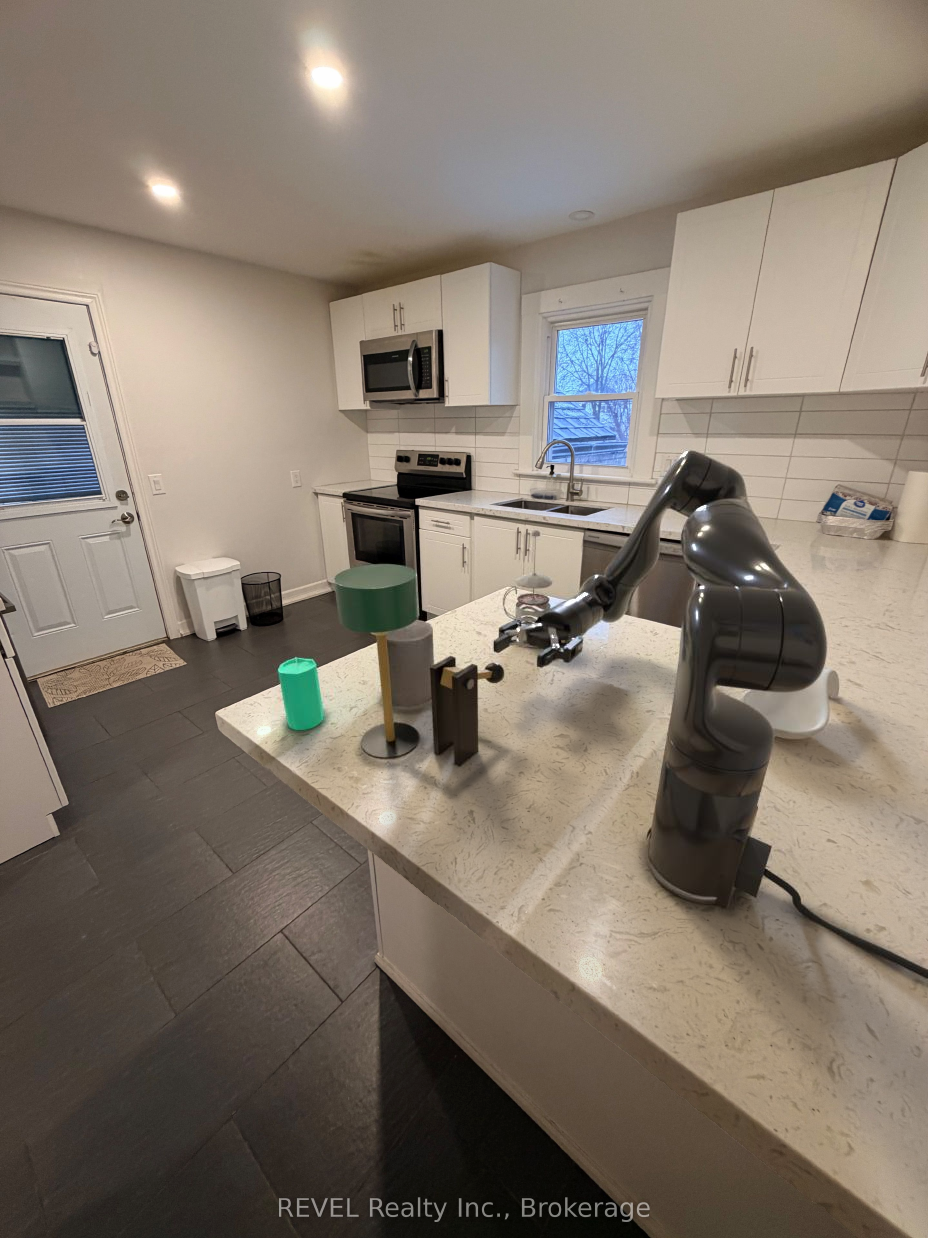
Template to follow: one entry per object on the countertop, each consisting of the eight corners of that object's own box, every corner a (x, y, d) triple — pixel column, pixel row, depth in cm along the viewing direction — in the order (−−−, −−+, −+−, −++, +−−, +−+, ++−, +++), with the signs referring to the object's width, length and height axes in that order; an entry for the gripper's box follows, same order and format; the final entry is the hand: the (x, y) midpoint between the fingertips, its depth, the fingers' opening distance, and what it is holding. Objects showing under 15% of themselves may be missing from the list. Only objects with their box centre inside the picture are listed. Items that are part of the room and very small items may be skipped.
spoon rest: (803, 761, 72) (816, 720, 69) (723, 725, 81) (731, 687, 78) (859, 705, 85) (871, 669, 83) (785, 679, 94) (794, 645, 91)
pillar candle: (373, 696, 91) (365, 621, 85) (416, 679, 97) (412, 607, 91) (402, 719, 84) (396, 639, 78) (447, 699, 90) (444, 623, 84)
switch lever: (489, 679, 79) (493, 659, 79) (505, 685, 77) (510, 665, 77) (436, 685, 69) (441, 663, 68) (454, 693, 67) (458, 670, 66)
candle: (313, 732, 81) (303, 667, 76) (280, 728, 82) (268, 664, 78) (329, 711, 87) (321, 650, 82) (298, 708, 88) (288, 647, 83)
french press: (556, 647, 109) (563, 535, 99) (503, 647, 109) (505, 535, 99) (550, 629, 118) (555, 524, 108) (501, 629, 118) (502, 525, 108)
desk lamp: (459, 752, 75) (455, 578, 65) (407, 792, 68) (393, 601, 57) (393, 718, 84) (379, 559, 74) (340, 750, 76) (316, 578, 66)
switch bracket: (459, 729, 81) (457, 642, 75) (504, 751, 76) (505, 659, 70) (406, 768, 72) (399, 673, 66) (453, 795, 67) (449, 694, 61)
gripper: (533, 596, 95) (481, 623, 84) (602, 613, 87) (555, 645, 75) (531, 632, 98) (482, 662, 86) (598, 651, 89) (553, 688, 78)
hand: (516, 654), depth 81 cm, fingers open, 8 cm apart
